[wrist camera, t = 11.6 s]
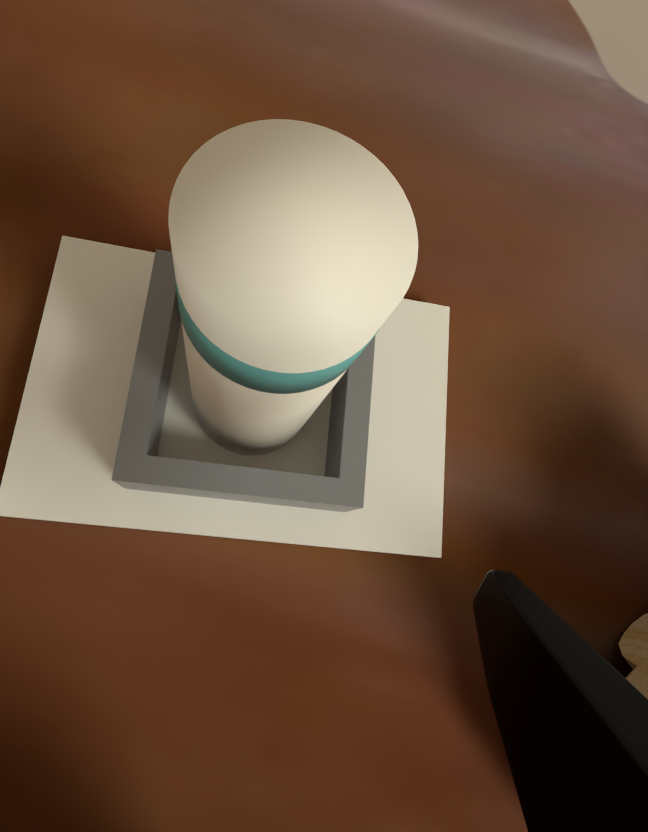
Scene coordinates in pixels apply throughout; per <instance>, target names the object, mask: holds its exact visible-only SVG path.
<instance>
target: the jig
mask: <svg viewBox="0 0 648 832" xmlns="http://www.w3.org/2000/svg"><path fill="white" fill-rule="evenodd" d="M449 309H450V307H447V306H441V305H436V304H431V303H425V302H420V301H414V300H409V299H404V298H403V299H402V300H401V301H400V303H399V304H398V305H397V307H396V308H395V309H394V310H393V312H392V313H391V314H390V316H389V317H388V318H387V319H386V321H385V322H384V323H383V325H382V326H381V327H380V329H379V331H378V332H377V333H376V335H375V336H374V337H373V339H372V340H371V341H370V343H369V344H368V345H367V346H366V348H365V349H364V350H363V351H362V353H361V354H360V355H359V356H358V358H357V359H356V360H355V362H354V363H353V364H352V365H351V366H350V367H349V368H348V369H347V370H346V372H345V373H344V374H343V376H342V377H341V378H340V379H339V381H338V382H337V383H336V385H335V386H334V387H333V388H332V390H331V391H330V392H329V393H328V395H327V396H326V397H325V399H324V400H323V401H322V402H321V404H320V405H319V406H318V408H317V409H316V410H315V411H314V413H313V414H312V415H311V416H310V418H309V419H308V420H307V422H306V423H305V424H304V425H303V427H302V428H301V429H300V431H299V432H298V433H297V434H296V436H295V437H294V438H293V439H292V440H291V441H290V442H288V443H287V444H286V445H284V446H283V447H281V448H279V449H277V450H275V451H272V452H270V453H266V454H260V455H244V454H238V453H234V452H231V451H229V450H226V449H224V448H223V447H221V446H219V445H218V444H216V443H215V442H214V441H212V440H211V439H210V438H209V437H208V436H207V435H206V433H205V432H204V431H203V429H202V428H201V426H200V425H199V423H198V421H197V418H196V416H195V412H194V408H193V401H192V394H191V387H190V379H189V372H188V365H187V357H186V350H185V343H184V336H183V328H182V321H181V316H180V312H179V306H178V299H177V291H176V284H175V276H174V263H173V256H172V252H169V251H164V250H159V249H156V252H155V253H154V252H149V251H144V250H138V249H133V248H127V247H122V246H117V245H111V244H106V243H100V242H95V241H89V240H84V239H79V238H73V237H68V236H62V239H61V243H60V247H59V251H58V255H57V259H56V263H55V267H54V271H53V275H52V279H51V283H50V287H49V292H48V296H47V300H46V304H45V308H44V312H43V316H42V320H41V324H40V328H39V332H38V336H37V340H36V344H35V348H34V352H33V357H32V361H31V365H30V369H29V373H28V377H27V381H26V385H25V389H24V393H23V397H22V401H21V405H20V409H19V413H18V417H17V422H16V426H15V430H14V434H13V438H12V442H11V446H10V450H9V454H8V458H7V462H6V466H5V470H4V474H3V478H2V482H1V487H0V516H5V517H15V518H26V519H36V520H47V521H57V522H68V523H78V524H89V525H99V526H110V527H120V528H131V529H141V530H152V531H162V532H173V533H183V534H194V535H204V536H215V537H225V538H235V539H246V540H256V541H267V542H277V543H288V544H298V545H309V546H319V547H330V548H340V549H351V550H361V551H372V552H382V553H393V554H403V555H414V556H424V557H436V558H441V555H442V524H443V493H444V462H445V432H446V401H447V370H448V340H449Z"/></svg>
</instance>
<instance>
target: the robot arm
mask: <svg viewBox="0 0 648 832" xmlns="http://www.w3.org/2000/svg"><path fill="white" fill-rule="evenodd" d="M473 610H474V616H475V622H476V627H477V633H478V639H479V644H480V650H481V655H482V661H483V667H484V672H485V677H486V682H487V687H488V691H489V695H490V698H491V702H492V706H493V709H494V713H495V716H496V720H497V723H498V727H499V730H500V734H501V737H502V741H503V744H504V748H505V752H506V755H507V759H508V762H509V766H510V769H511V773H512V776H513V780H514V783H515V787H516V790H517V794H518V797H519V801H520V804H521V808H522V812H523V815H524V819H525V822H526V826H527V829H528V832H648V699H647V698H646V697H645V696H644V695H643V694H642V693H641V692H640V691H638V690H637V689H636V688H635V687H634V686H633V685H632V684H631V683H630V682H629V681H628V680H627V679H626V678H625V677H624V676H622V675H621V674H620V673H619V672H618V671H617V670H616V669H615V668H614V667H613V666H612V665H611V664H610V663H609V662H608V661H606V660H605V659H604V658H603V657H602V656H601V655H600V654H599V653H598V652H597V651H596V650H595V649H594V648H593V647H592V646H590V645H589V644H588V643H587V642H586V641H585V640H584V639H583V638H582V637H581V636H580V635H579V634H578V633H577V632H576V631H574V630H573V629H572V628H571V627H570V626H569V625H568V624H567V623H566V622H565V621H564V620H563V619H562V618H561V617H560V616H558V615H557V614H556V613H555V612H554V611H553V610H552V609H551V608H550V607H549V606H548V605H547V604H546V603H545V602H543V601H542V600H541V599H540V598H539V597H538V596H537V595H536V594H535V593H534V592H533V591H532V590H531V589H530V588H529V587H527V586H526V585H525V584H524V583H523V582H522V581H521V580H520V579H519V578H518V577H517V576H516V575H515V574H513V573H512V572H510V571H505V570H494V569H493V570H490V571H489V572H487V574H486V576H485V578H484V579H483V581H482V583H481V585H480V587H479V589H478V591H477V593H476V595H475V597H474V601H473Z"/></svg>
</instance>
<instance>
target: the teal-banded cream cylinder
mask: <svg viewBox="0 0 648 832" xmlns="http://www.w3.org/2000/svg"><path fill="white" fill-rule="evenodd" d="M168 223H169V233H170V241H171V248H172V256H173V263H174V276H175V284H176V291H177V299H178V306H179V312H180V316H181V321H182V328H183V336H184V343H185V350H186V357H187V365H188V372H189V379H190V387H191V394H192V401H193V408H194V412H195V416H196V418H197V421H198V423H199V425H200V426H201V428H202V429H203V431H204V432H205V433H206V435H207V436H208V437H209V438H210V439H211V440H212V441H214V442H215V443H216V444H218V445H219V446H221V447H223V448H224V449H226V450H229V451H231V452H234V453H238V454H244V455H260V454H266V453H270V452H272V451H275V450H277V449H279V448H281V447H283V446H284V445H286V444H287V443H288V442H290V441H291V440H292V439H293V438H294V437H295V436H296V434H297V433H298V432H299V431H300V429H301V428H302V427H303V425H304V424H305V423H306V422H307V420H308V419H309V418H310V416H311V415H312V414H313V413H314V411H315V410H316V409H317V408H318V406H319V405H320V404H321V402H322V401H323V400H324V399H325V397H326V396H327V395H328V393H329V392H330V391H331V390H332V388H333V387H334V386H335V385H336V383H337V382H338V381H339V379H340V378H341V377H342V376H343V374H344V373H345V372H346V370H347V369H348V368H349V367H350V366H351V365H352V364H353V363H354V362H355V360H356V359H357V358H358V356H359V355H360V354H361V353H362V351H363V350H364V349H365V348H366V346H367V345H368V344H369V343H370V341H371V340H372V339H373V337H374V336H375V335H376V333H377V332H378V331H379V329H380V327H381V326H382V325H383V323H384V322H385V321H386V319H387V318H388V317H389V316H390V314H391V313H392V312H393V310H394V309H395V308H396V307H397V305H398V304H399V303H400V301H401V300H402V299H403V297H404V295H405V293H406V292H407V290H408V288H409V286H410V284H411V281H412V278H413V276H414V273H415V268H416V263H417V257H418V235H417V228H416V223H415V218H414V215H413V212H412V209H411V206H410V204H409V202H408V200H407V197H406V195H405V193H404V191H403V190H402V188H401V187H400V185H399V183H398V182H397V180H396V179H395V177H394V176H393V175H392V174H391V173H390V171H389V170H388V169H387V168H386V166H385V165H383V164H382V163H381V162H380V161H379V160H378V159H377V158H376V157H375V156H374V155H373V154H372V153H370V152H369V151H368V150H367V149H365V148H364V147H363V146H361V145H360V144H358V143H357V142H355V141H353V140H352V139H350V138H348V137H346V136H344V135H342V134H340V133H338V132H336V131H334V130H331V129H328V128H326V127H323V126H320V125H316V124H312V123H308V122H303V121H296V120H285V119H271V120H260V121H255V122H250V123H245V124H242V125H239V126H236V127H233V128H230V129H228V130H226V131H224V132H222V133H220V134H218V135H216V136H215V137H213V138H212V139H211V140H209V141H208V142H206V143H205V144H204V145H203V146H201V147H200V148H199V149H198V150H197V151H196V152H195V153H194V154H193V155H192V156H191V158H190V159H189V160H188V161H187V163H186V164H185V165H184V167H183V169H182V171H181V172H180V174H179V176H178V178H177V180H176V183H175V185H174V188H173V191H172V195H171V200H170V204H169V218H168Z"/></svg>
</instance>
